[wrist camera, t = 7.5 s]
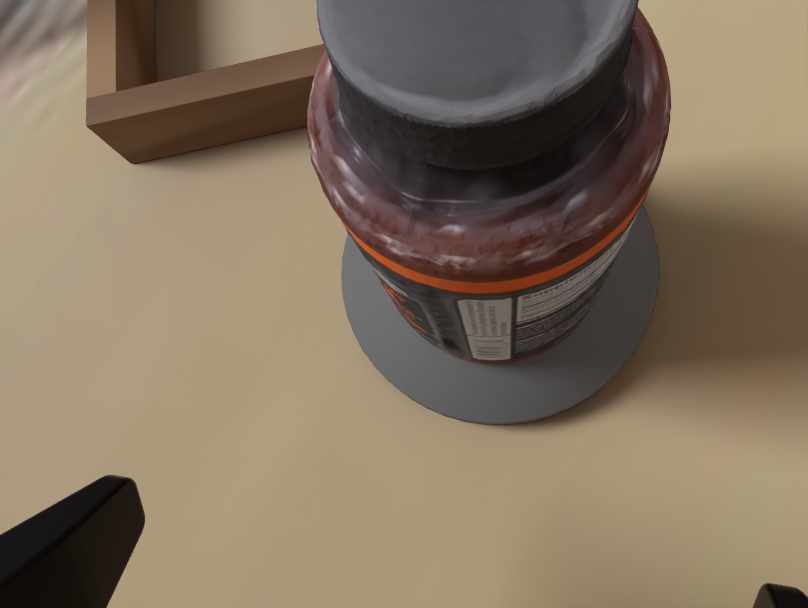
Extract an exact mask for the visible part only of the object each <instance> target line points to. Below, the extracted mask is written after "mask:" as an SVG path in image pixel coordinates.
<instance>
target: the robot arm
mask: <svg viewBox="0 0 808 608" xmlns="http://www.w3.org/2000/svg"><path fill="white" fill-rule="evenodd" d="M144 524H145V514H144V510H143V506H142V503H141V499H140V496H139V492H138V489H137V485H136V483H135V482H134V481H133V480H132V479H131V478H128V477H122V476H116V475H107V476H104V477H102V478H100V479H98V480H96V481H95V482H93V483H91V484H89V485H87V486H86V487H84V488H82V489H80V490H79V491H77V492H75V493H73V494H72V495H70V496H68V497H66V498H65V499H63V500H61V501H59V502H57V503H56V504H54V505H52V506H50V507H49V508H47V509H45V510H43V511H42V512H40V513H38V514H36V515H34V516H33V517H31V518H29V519H27V520H26V521H24V522H22V523H20V524H19V525H17V526H15V527H13V528H12V529H10V530H8V531H6V532H4V533H3V534H1V535H0V608H107V606H108V603H109V601H110V599H111V597H112V595H113V593H114V591H115V589H116V586H117V584H118V582H119V580H120V578H121V576H122V574H123V572H124V569H125V567H126V565H127V563H128V561H129V559H130V557H131V555H132V553H133V550H134V548H135V546H136V544H137V542H138V540H139V538H140V536H141V533H142V531H143V528H144ZM753 608H808V597H807V596H806V595H805V594H804V593H803V592H802V591H801V590H799V589H797V588H794V587H790V586H784V585H778V584H771V583H766V584H764V585H763V586H762V587H761V588H760V590H759V593H758V595H757V598H756V600H755V603H754V606H753Z"/></svg>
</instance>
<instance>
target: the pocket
mask: <svg viewBox="0 0 808 608" xmlns="http://www.w3.org/2000/svg"><path fill="white" fill-rule="evenodd" d="M325 49H326V48H325V45H324V44H322V45H318V46H313V47H309V48H305V49H300V50H296V51H291V52H287V53H283V54H278V55H274V56H270V57H265V58H261V59H257V60H252V61H248V62H243V63H239V64H235V65H230V66H226V67H222V68H217V69H213V70H209V71H204V72H200V73H196V74H191V75H187V76H182V77H178V78H174V79H169V80H165V81H161V82H156V54H155V14H154V0H88V13H87V100H86V126H87V127H88V128H89V129H90V130H92V131H93V132H94V133H95V134H96V135H98V136H99V137H100V138H101V139H102V140H103V141H105V142H106V143H107V144H108V145H109V146H111V147H112V148H113V149H114V150H115V151H117V152H118V153H119V154H120V155H121V156H123V157H124V158H125V159H126V160H127V161H129V162H130V163H131V164H133V163H138V162H142V161H147V160H152V159H156V158H161V157H166V156H170V155H175V154H180V153H184V152H189V151H194V150H198V149H203V148H208V147H212V146H217V145H222V144H226V143H231V142H236V141H240V140H245V139H250V138H254V137H259V136H264V135H268V134H273V133H278V132H282V131H287V130H292V129H296V128H301V127H306V126H307V125H308V123H307V121H308V117H307V116H308V115H307V110H308V106H309V98H310V92H311V89H312V83H313V80H314V76H315V74H316V70H317V67H318V64H319V62H320V60H321V58H322V56H323V54H324V52H325Z"/></svg>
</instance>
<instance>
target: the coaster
mask: <svg viewBox="0 0 808 608" xmlns="http://www.w3.org/2000/svg"><path fill="white" fill-rule="evenodd" d="M658 279H659V262H658V250H657V245H656V241H655V236H654V232H653V228H652V226H651V223H650V221H649V218H648V215H647V213H646V210H645V209H644V207H643V205H642V206H641V208H640V210H639V212H638V214H637V216H636V218H635V220H634V222H633V225H632V227H631V229H630V231H629V233H628V236H627V237H626V239H625V241H624V243H623V244H622V246H621V249H620V251H619V253H618V256H617V258H616V259H615V261H614V264H613V266H612V268H611V270H610V272H609V274H608V276H607V278H606V280H605V282H604V284H603V286H602V288H601V291H600V293H599V295H598V297H597V299H596V301H595V303H594V304H593V306H592V308H591V309H590V311H589V313H588V314H587V315H586V317H585V318H584V319H583V320H582V322H581V323H580V325H579V326H578V327H577V328H576V329H575V330H574V331H573V332H572V333H571V334H570V335H569V336H568V337H567V338H566V339H565V340H564V341H562V342H561V343H559V344H558V345H556V346H555V347H554V348H552V349H550V350H548V351H546V352H544V353H542V354H541V355H538V356H536V357H533V358H531V359H527V360H524V361H520V362H515V363H505V364H483V363H475V362H468V361H465V360H462V359H459V358H455V357H452V356H450V355H448V354H447V353H445V352H443V351H441V350H439V349H438V348H436V347H434V346H433V345H431V344H430V343H429V342H427V341H426V340H425V339H424V338H423V337H422V336H420V335H419V334H418V333H417V332H416V331H415V330H414V329H413V328H412V327H411V326H410V325H409V324H408V322H407V321H406V320H405V319H404V317H403V316H402V315H401V314H400V313H399V311H398V310H397V307H396V306H395V304H394V303H393V301H392V299H391V298H390V296H389V295H388V293H387V291H386V290H385V288H384V287H383V285H382V284H381V282H380V280H379V278H378V277H377V275H376V274H375V272H374V271H373V269H372V268H371V266H370V265H369V263H368V262H367V260H366V259H365V258H364V256H363V255H362V253H361V251H360V250H359V248H358V247H357V245H356V244H355V242H354V241H353V239H352V238H351V236H350V235H349V234H348V236H347V239H346V243H345V248H344V254H343V259H342V290H343V299H344V303H345V308H346V312H347V316H348V319H349V322H350V324H351V327H352V330H353V332H354V334H355V336H356V338H357V340H358V342H359V344H360V346H361V348H362V350H363V351H364V352H365V354H366V355H367V357H368V358H369V359H370V361H371V362H372V364H373V365H374V366H375V367H376V368H377V369H378V371H379V372H380V373H381V374H382V375H383V376H384V377H385V378H386V379H387V380H388V381H389V382H390V383H392V384H393V385H394V386H395V387H396V388H398V389H399V390H400V391H401V392H403V393H404V394H405V395H406V396H408V397H409V398H411V399H412V400H414V401H416V402H417V403H419V404H421V405H422V406H424V407H426V408H428V409H430V410H432V411H435V412H437V413H439V414H442V415H444V416H447V417H450V418H454V419H457V420H461V421H465V422H471V423H478V424H485V425H510V424H519V423H527V422H532V421H535V420H539V419H543V418H547V417H550V416H553V415H555V414H558V413H560V412H563V411H565V410H568V409H570V408H571V407H573V406H575V405H577V404H578V403H580V402H582V401H584V400H585V399H587V398H589V397H590V396H591V395H592V394H594V393H595V392H596V391H598V390H599V389H600V388H602V387H603V386H604V385H605V384H606V383H607V382H608V381H609V380H610V379H611V378H612V377H613V376H614V375H615V374H616V373H617V372H618V371H619V370H620V369H621V368H622V366H623V365H624V364H625V363H626V361H627V360H628V359H629V357H630V356H631V354H632V353H633V352H634V350H635V349H636V348H637V346H638V344H639V342H640V340H641V338H642V336H643V335H644V333H645V331H646V329H647V326H648V323H649V321H650V318H651V315H652V313H653V310H654V305H655V300H656V296H657V291H658Z"/></svg>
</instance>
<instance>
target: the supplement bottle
mask: <svg viewBox="0 0 808 608" xmlns="http://www.w3.org/2000/svg"><path fill="white" fill-rule="evenodd" d="M316 1H317V16H318V23H319V29H320V34H321V36H322V39H323V42H324V45H325V48H326V49H325V52H324V54H323V56H322V58H321V60H320V62H319V64H318V67H317V70H316V74H315V76H314V80H313V83H312V89H311V92H310V98H309V106H308V110H307V115H308V116H307V117H308V121H307V123H308V125H307V127H308V133H307V136H308V139H309V147H310V150H311V161H312V164H313V166H314V169H315V171H316V173H317V176H318V178H319V181H320V183H321V186H322V189H323V192H324V193H325V195H326V197H327V198H328V200H329V202H330V204H331V206H332V207H333V209H334V211H335V212H336V214H337V215H338V217H339V218H340V219H341V221H342V222H343V224H344V226H345V228H346V230H347V232H348V234H349V235H350V236H351V238H352V239H353V241H354V242H355V244H356V245H357V247H358V248H359V250H360V251H361V253H362V255H363V256H364V258H365V259H366V260H367V262H368V263H369V265H370V266H371V268H372V269H373V271H374V272H375V274H376V275H377V277H378V278H379V280H380V282H381V284H382V285H383V287H384V288H385V290H386V291H387V293H388V295H389V296H390V298H391V299H392V301H393V303H394V304H395V306H396V307H397V310H398V311H399V313H400V314H401V315H402V316H403V317H404V319H405V320H406V321H407V322H408V324H409V325H410V326H411V327H412V328H413V329H414V330H415V331H416V332H417V333H418V334H419V335H420V336H422V337H423V338H424V339H425V340H426V341H427V342H429V343H430V344H431V345H433V346H434V347H436V348H438V349H439V350H441V351H443V352H445V353H447V354H448V355H450V356H452V357H455V358H459V359H462V360H465V361H468V362H475V363H483V364H505V363H515V362H520V361H524V360H527V359H531V358H533V357H536V356H538V355H541V354H542V353H544V352H546V351H548V350H550V349H552V348H554V347H555V346H556V345H558V344H559V343H561V342H562V341H564V340H565V339H566V338H567V337H568V336H569V335H570V334H571V333H572V332H573V331H574V330H575V329H576V328H577V327H578V326H579V325H580V323H581V322H582V320H583V319H584V318H585V317H586V315H587V314H588V313H589V311H590V309H591V308H592V306H593V304H594V303H595V301H596V299H597V297H598V295H599V293H600V291H601V288H602V286H603V284H604V282H605V280H606V278H607V276H608V274H609V272H610V270H611V268H612V266H613V264H614V261H615V259H616V258H617V256H618V253H619V251H620V249H621V246H622V244H623V243H624V241H625V239H626V237H627V236H628V233H629V231H630V229H631V227H632V225H633V222H634V220H635V218H636V216H637V214H638V212H639V210H640V208H641V206H642V204H643V202H644V200H645V198H646V195H647V192H648V189H649V187H650V185H651V183H652V181H653V178H654V176H655V174H656V171H657V169H658V167H659V164H660V161H661V157H662V154H663V151H664V147H665V143H666V140H667V136H668V131H669V123H670V110H671V92H670V81H669V76H668V71H667V66H666V62H665V59H664V55H663V52H662V50H661V47H660V45H659V42H658V40H657V38H656V36H655V34H654V32H653V30H652V28H651V27H650V25H649V23H648V21H647V20H646V18H645V17H644V15H643V14H642V12H641V11H640V9H639V8H638V7H637V6H638V1H639V0H316Z"/></svg>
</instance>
